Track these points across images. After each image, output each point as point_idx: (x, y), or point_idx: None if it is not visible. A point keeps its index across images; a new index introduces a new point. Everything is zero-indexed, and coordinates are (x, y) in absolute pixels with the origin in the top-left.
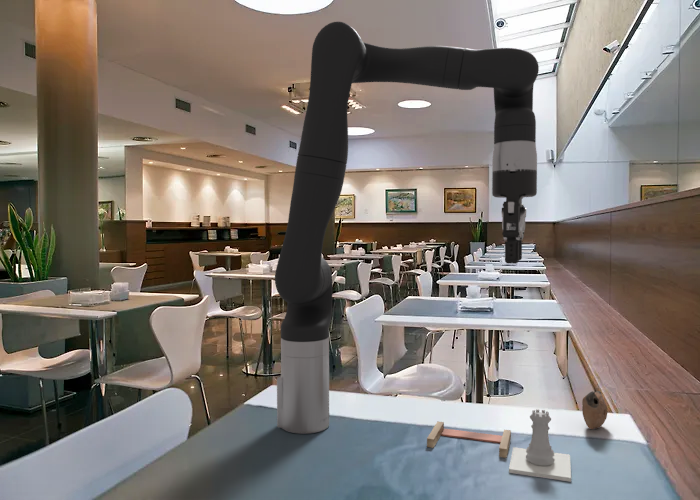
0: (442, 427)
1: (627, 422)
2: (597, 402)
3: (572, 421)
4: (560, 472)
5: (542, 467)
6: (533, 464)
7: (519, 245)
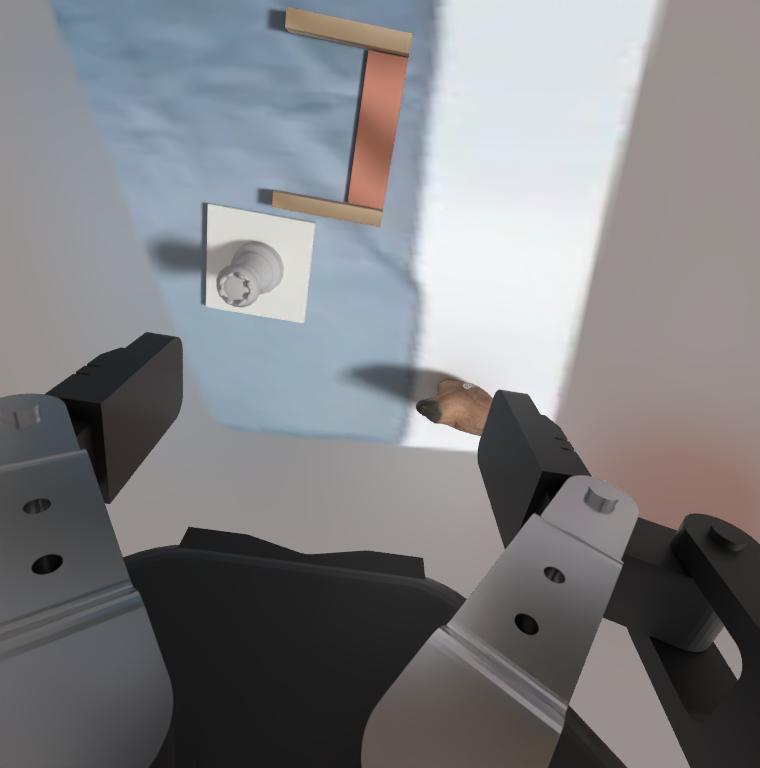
0: (392, 51)
1: None
2: None
3: (496, 361)
4: None
5: None
6: None
7: (501, 512)
